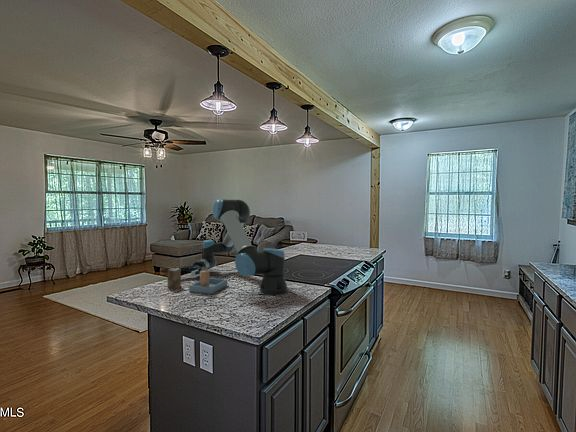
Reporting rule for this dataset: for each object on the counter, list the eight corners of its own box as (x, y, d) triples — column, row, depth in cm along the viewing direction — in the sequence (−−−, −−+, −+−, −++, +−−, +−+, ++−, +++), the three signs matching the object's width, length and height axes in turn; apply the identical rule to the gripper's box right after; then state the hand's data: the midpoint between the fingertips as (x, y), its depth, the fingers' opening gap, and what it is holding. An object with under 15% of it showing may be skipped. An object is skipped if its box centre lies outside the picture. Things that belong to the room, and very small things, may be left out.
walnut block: (180, 286, 180) (180, 268, 179) (175, 288, 175) (175, 270, 174) (173, 285, 181) (173, 268, 180) (167, 287, 176) (167, 270, 176)
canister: (211, 288, 173) (210, 270, 173) (207, 291, 169) (206, 272, 168) (202, 287, 174) (202, 269, 173) (198, 290, 169) (198, 272, 169)
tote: (227, 285, 182) (227, 279, 182) (212, 294, 165) (212, 287, 165) (206, 283, 186) (206, 277, 186) (189, 291, 169) (189, 285, 169)
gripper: (218, 273, 202) (200, 281, 182) (183, 270, 209) (163, 278, 188) (218, 261, 202) (200, 268, 181) (183, 259, 209) (163, 265, 188)
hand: (181, 273), depth 185 cm, fingers open, 13 cm apart
